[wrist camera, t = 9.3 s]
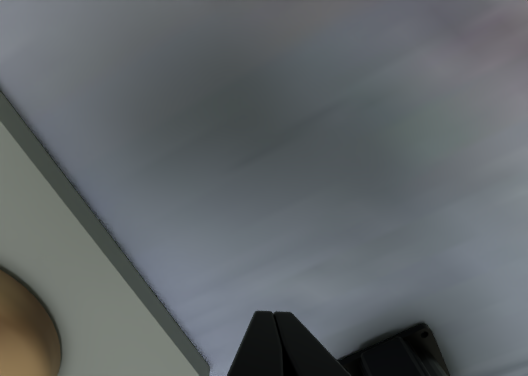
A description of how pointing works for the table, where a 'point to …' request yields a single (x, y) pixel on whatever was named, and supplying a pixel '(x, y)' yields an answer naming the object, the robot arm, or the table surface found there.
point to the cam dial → (25, 333)
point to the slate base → (80, 271)
